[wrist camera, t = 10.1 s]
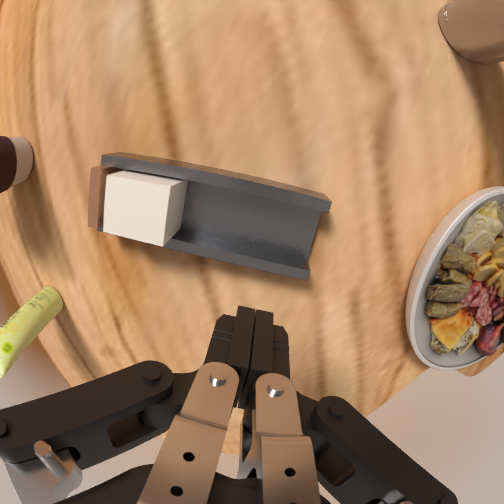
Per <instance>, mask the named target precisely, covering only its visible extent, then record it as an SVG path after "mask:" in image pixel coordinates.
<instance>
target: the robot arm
mask: <svg viewBox="0 0 504 504" xmlns="http://www.w3.org/2000/svg"><path fill="white" fill-rule="evenodd" d="M438 19H439V24H440V28H441V30H442V32H443V34H444V36H445V38H446V40H447V41H448V42H449V44H450V45H451V46H452V47H453V48H454V50H455V51H456V52H458V53H459V54H460V55H461V56H462V57H464V58H465V59H467V60H469V61H472V62H483V63H484V64H485V65H487V64H492V63H497V62H502V61H504V0H453V1H451V2H450V3H448V4H446V5H445V6H443V7H442V8H441V9H440V11H439V15H438ZM288 344H289V342H288V334H287V332H286V331H285V329H284V327H282V326H277V325H273V313H272V312H267V311H262V310H257V309H256V312H255V309H252V308H248V307H243V306H238V310H237V314H236V317H234V316H230V315H225V314H223V315H222V316H221V317H220V318H219V319H218V320H217V321H216V324H215V328H214V331H213V334H212V338H211V341H210V344H209V348H208V351H207V355H206V358H205V361H204V364H203V365H202V366H201V367H200V368H199V369H198V370H196V371H194V372H191V373H172V371H171V370H170V369H169V368H168V367H167V366H166V365H165V364H163V363H161V362H158V361H143V362H140V363H137V364H135V365H132V366H130V367H127V368H125V369H122V370H119V371H117V372H114V373H111V374H109V375H106V376H103V377H101V378H98V379H95V380H92V381H89V382H87V383H84V384H81V385H78V386H75V387H72V388H69V389H67V390H63V391H61V392H58V393H55V394H51V395H48V396H45V397H42V398H39V399H36V400H32V401H29V402H26V403H22V404H19V405H15V406H12V407H9V408H5V409H1V410H0V457H1V459H2V460H3V461H4V463H5V466H6V468H7V471H8V473H9V476H10V478H11V480H12V483H13V485H14V487H15V490H16V492H17V494H18V496H19V498H20V500H21V502H22V504H331V503H330V502H329V501H328V500H327V499H326V498H324V497H323V496H322V495H320V493H319V486H318V482H320V484H321V485H322V486H323V487H324V488H325V489H326V490H327V491H328V492H329V493H330V494H331V495H332V496H333V497H334V498H335V499H336V500H337V501H339V502H340V504H458V501H457V498H456V496H455V494H454V493H453V492H452V491H450V490H449V489H448V488H447V487H446V486H444V485H443V484H442V483H441V482H439V481H438V480H437V479H435V478H434V477H433V476H432V475H431V474H429V473H428V472H427V471H426V470H425V469H423V468H422V467H421V466H420V465H419V464H417V463H416V462H415V461H413V459H411V458H410V457H409V456H408V455H407V454H405V453H404V452H403V451H402V450H401V449H400V448H399V447H397V446H396V445H395V444H394V443H393V442H392V441H390V440H389V439H388V438H387V437H386V436H385V435H383V433H381V432H380V431H379V430H378V429H377V428H376V427H375V426H373V425H372V424H371V423H370V422H369V421H368V420H367V419H366V418H365V417H363V416H362V415H361V414H360V413H359V412H358V411H357V410H356V409H355V408H354V407H353V406H351V405H350V404H349V403H348V402H347V401H346V400H344V399H342V398H340V397H336V396H327V397H324V398H322V399H321V400H320V401H319V402H318V401H316V400H313V399H311V398H308V397H306V396H303V395H302V394H300V393H299V392H298V391H296V388H295V386H294V384H293V382H292V381H291V380H290V364H289V346H288ZM238 400H239V403H238ZM237 403H238V408H241V409H244V415H243V419H242V422H241V425H240V453H239V469H238V474H237V479H233V478H230V477H227V476H225V475H222V474H219V473H217V472H216V468H217V464H218V461H219V457H220V453H221V450H222V446H223V442H224V439H225V435H226V431H227V426H228V422H229V419H230V416H231V413H232V410H233V407H235V408H236V406H237ZM168 429H169V431H168V433H167V435H166V437H165V440H164V442H163V444H162V447H161V449H160V451H159V454H158V456H157V459H156V461H155V463H154V464H149V465H142V466H139V467H135V468H132V469H130V470H128V471H126V472H124V473H122V474H120V475H118V476H116V477H114V478H112V479H110V480H108V481H105V482H104V483H102V484H99V485H97V486H95V487H93V488H90V489H88V490H86V491H83V492H81V493H79V494H76V495H74V496H71V497H69V498H66V497H67V495H68V494H69V493H70V492H71V491H73V490H74V489H76V488H77V487H78V486H79V485H80V484H81V481H82V471H81V470H83V469H86V468H89V467H91V466H94V465H96V464H98V463H101V462H103V461H105V460H108V459H110V458H112V457H115V456H117V455H119V454H121V453H123V452H126V451H128V450H130V449H132V448H134V447H136V446H138V445H140V444H142V443H144V442H146V441H148V440H150V439H152V438H154V437H156V436H158V435H160V434H162V433H164V432H166V431H167V430H168Z"/></svg>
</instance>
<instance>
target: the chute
mask: <svg viewBox="0 0 504 504" xmlns="http://www.w3.org/2000/svg"><path fill="white" fill-rule="evenodd" d="M124 170H134V171H140V172H146V173H152V174H158V175H163V176H169V177H174V178H180V179H185V180H188V184H187V189H186V195H185V202H184V208H183V214H182V221H181V228H180V229H179V230H178V231H177V232H176V233H175V234H174V236H173V237H172V238H171V239H170V240H169V241H168V242H167V243H166V244H165V245H164V246H163V247H165V248H169V249H173V250H177V251H181V252H185V253H190V254H194V255H198V256H202V257H206V258H211V259H215V260H219V261H223V262H228V263H232V264H236V265H241V266H245V267H249V268H254V269H258V270H262V271H267V272H271V273H275V274H280V275H284V276H289V277H293V278H298V279H302V280H307V278H308V275H309V272H310V269H309V266H308V262H307V258H308V255H309V252H310V248H311V245H312V242H313V239H314V236H315V232H316V229H317V226H318V223H319V219H320V216H321V212H322V211H323V212H327V213H329V210H330V206H331V203H332V201H331V200H330V199H329V198H328V197H327V196H326V195H325V194H321V193H318V192H314V191H310V190H307V189H303V188H299V187H295V186H291V185H287V184H283V183H279V182H275V181H271V180H267V179H263V178H258V177H254V176H250V175H245V174H241V173H236V172H231V171H227V170H222V169H217V168H212V167H207V166H202V165H196V164H191V163H186V162H180V161H174V160H168V159H162V158H156V157H149V156H143V155H136V154H129V153H121V152H117V153H110V154H104V155H102V160H101V165H100V166H96V167H92V168H91V175H90V188H89V206H88V226H89V227H93V228H97V231H101V232H103V223H104V203H105V190H106V179H107V175H109V174H113V173H117V172H120V171H124ZM105 233H106V232H105ZM108 234H110V233H108ZM112 235H114V234H112ZM116 236H118V235H116ZM120 237H122V236H120ZM124 238H126V237H124ZM128 239H130V238H128ZM132 240H134V239H132ZM136 241H138V240H136ZM140 242H142V241H140ZM144 243H146V242H144ZM148 244H150V243H148ZM153 245H154V244H153ZM157 246H158V245H157ZM161 247H162V246H161Z"/></svg>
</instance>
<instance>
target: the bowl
mask: <svg viewBox="0 0 504 504" xmlns="http://www.w3.org/2000/svg"><path fill="white" fill-rule="evenodd" d="M406 328H407V333H408V337H409V340H410V343H411V345H412V347H413V349H414V351H415V353H416V355H417V356H418V358H419V359H420V360H421V361H422V362H423V363H425V364H426V365H428V366H429V367H432V368H435V369H438V370H456V369H461V368H464V367H467V366H470V365H472V364H475V363H477V362H479V361H480V360H482V359H484V358H486V357H487V356H491V355H492V354H494V353H495V351H496V350H497V349H498V348H499V347H500V346H501V345H502V344H503V343H504V186H494V187H489V188H485V189H482V190H479V191H477V192H475V193H473V194H471V195H470V196H468V197H466V198H465V199H464V200H462V201H461V202H460V203H458V204H457V205H456V206H455V207H454V208H453V209H452V210H451V211H450V212H449V213H448V214H447V215H446V216H445V217H444V218H443V220H442V221H441V222H440V223H439V225H438V226H437V227H436V229H435V230H434V232H433V233H432V235H431V236H430V238H429V239H428V241H427V243H426V245H425V246H424V248H423V250H422V252H421V254H420V256H419V259H418V261H417V263H416V266H415V268H414V271H413V274H412V277H411V281H410V284H409V289H408V294H407V300H406Z"/></svg>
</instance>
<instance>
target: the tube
mask: <svg viewBox="0 0 504 504" xmlns="http://www.w3.org/2000/svg"><path fill="white" fill-rule="evenodd" d="M62 308H63V300H62V298H61V295H60V294H59V293H58V291H57V290H55V289H54V288H53V287H50V286H47V287H45V288H43V289H42V290H41V291H40V292H39V293H37V294H36V295H35V296H34V297H33V298H32V299H30V300H29V301H28V302H27V303H26V304H25V305H23V306H22V307H21V308H20V309H19V310H18V311H17V312H16V313H14V314H13V315H12V316H11V317H10V318H9V319H8V320H7V321H6V322H5V323H4V324H2V325H1V326H0V377H1V378H3V377H4V376H5V374H6V373H7V372H8V370H9V369H10V368H11V366H12V365H13V364H14V362H15V361H16V360H17V359H18V357H19V356H20V355H21V354H22V352H23V351H24V350H25V349H26V348H27V346H28V345H29V344H30V343H31V342H32V341H33V340H34V338H35V337H36V336H37V335H38V334H39V333H40V332H41V331H42V330H43V328H44V327H45V326H46V325H47V324H48V323H49V322H50V321H51V320H52V319H53V318H54V317H55V316H56V315H57V314H58V313H59V312H60V311H61V310H62Z"/></svg>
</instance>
